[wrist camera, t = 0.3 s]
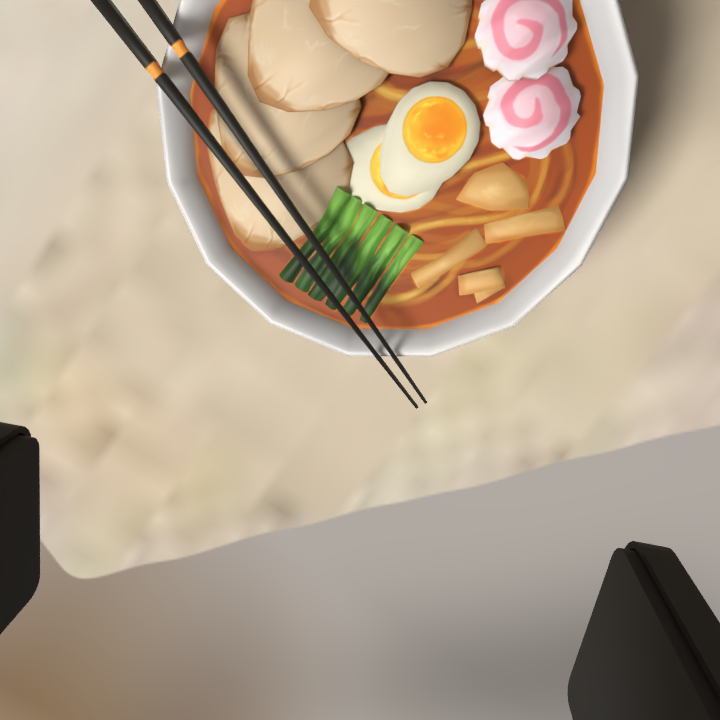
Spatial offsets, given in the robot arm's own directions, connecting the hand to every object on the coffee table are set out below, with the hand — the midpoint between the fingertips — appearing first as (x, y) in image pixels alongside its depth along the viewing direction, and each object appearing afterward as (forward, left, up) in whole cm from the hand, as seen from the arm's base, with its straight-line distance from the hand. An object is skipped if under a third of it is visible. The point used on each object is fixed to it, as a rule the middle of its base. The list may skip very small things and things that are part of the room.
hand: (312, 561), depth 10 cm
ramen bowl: (-7, -1, -31) cm, 32 cm away
